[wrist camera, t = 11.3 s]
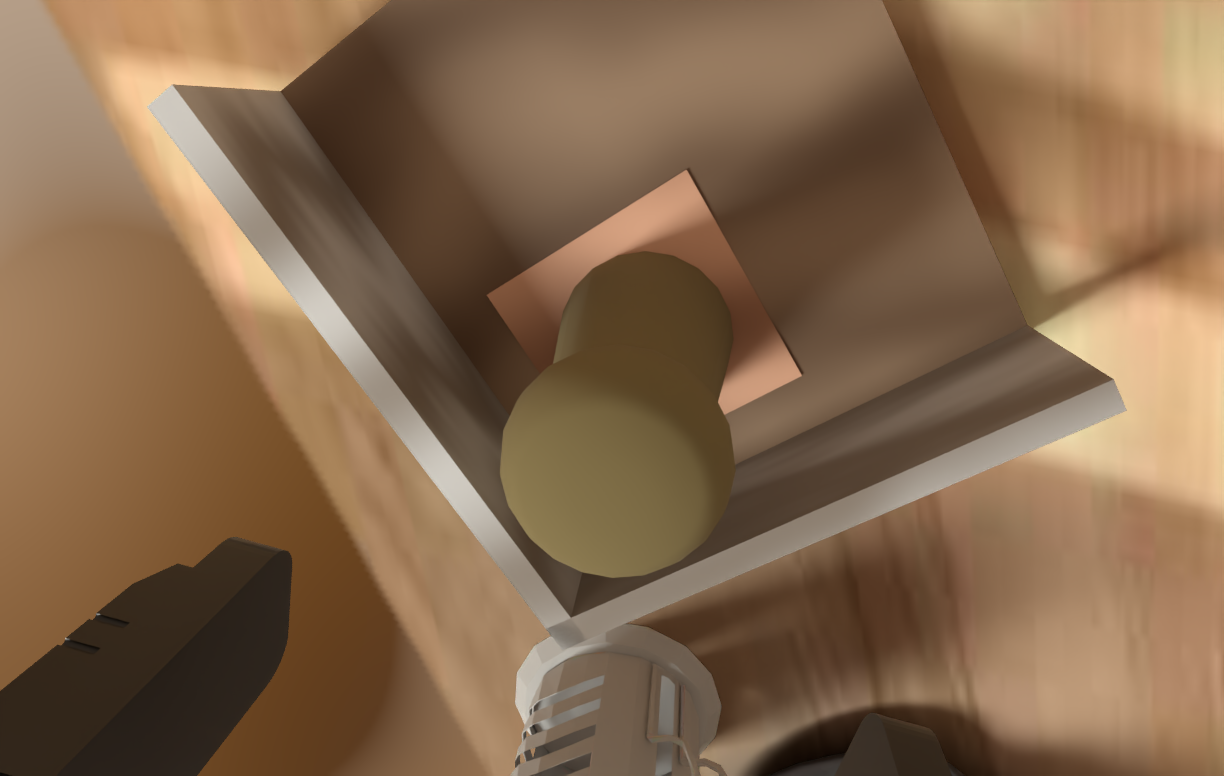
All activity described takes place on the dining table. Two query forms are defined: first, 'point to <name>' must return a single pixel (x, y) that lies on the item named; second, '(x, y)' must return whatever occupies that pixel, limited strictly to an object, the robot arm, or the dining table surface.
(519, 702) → the french press
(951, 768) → the casserole
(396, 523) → the dining table surface
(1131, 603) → the dining table surface
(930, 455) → the board
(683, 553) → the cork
